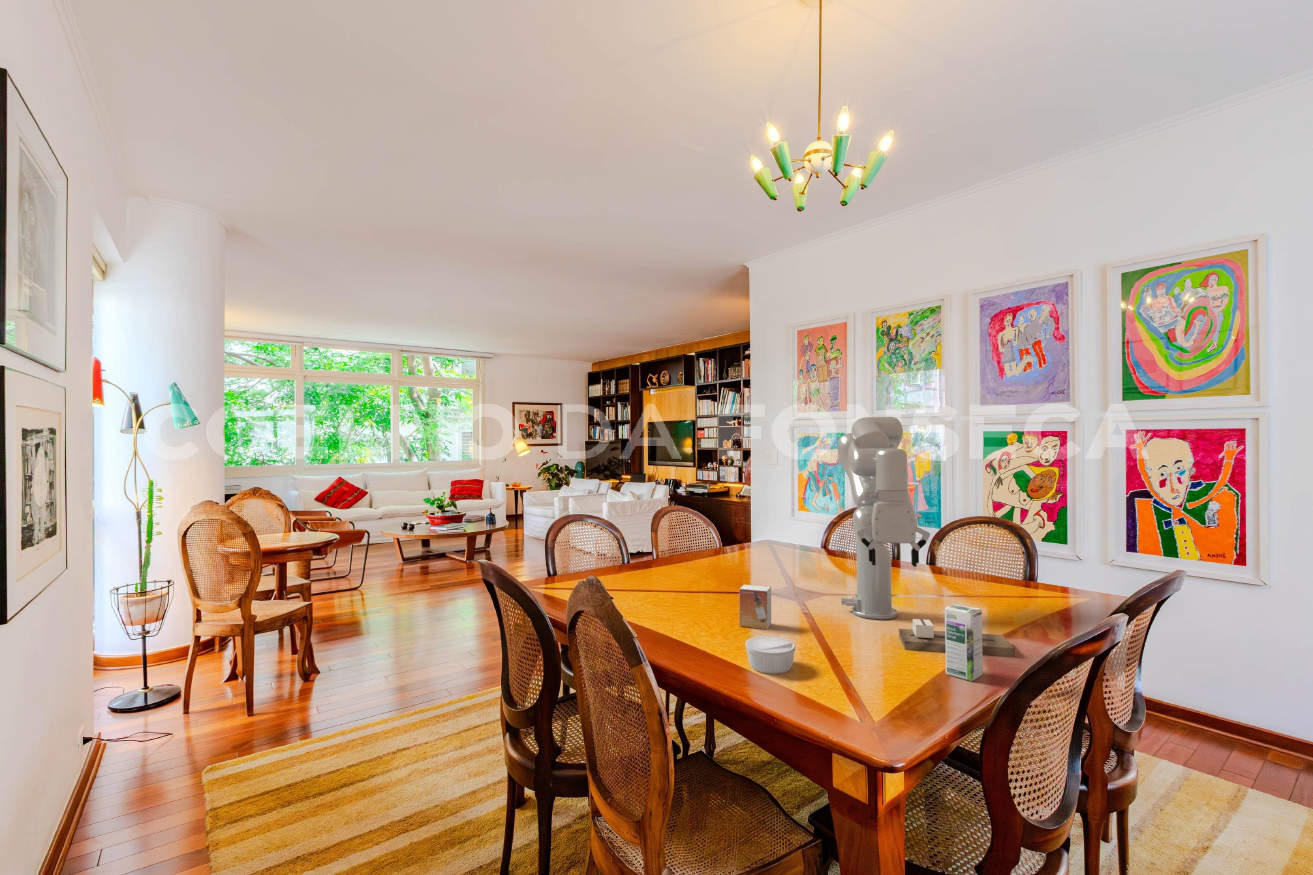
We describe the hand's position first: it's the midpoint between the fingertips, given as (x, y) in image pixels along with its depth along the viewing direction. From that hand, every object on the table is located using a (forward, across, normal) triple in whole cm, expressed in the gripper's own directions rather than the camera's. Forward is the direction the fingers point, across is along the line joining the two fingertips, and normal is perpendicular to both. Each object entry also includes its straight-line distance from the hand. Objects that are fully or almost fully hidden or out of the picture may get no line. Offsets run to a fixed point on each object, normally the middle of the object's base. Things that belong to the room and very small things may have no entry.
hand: (893, 565), depth 152 cm
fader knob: (+17, +7, 0) cm, 18 cm away
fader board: (+19, +14, 0) cm, 24 cm away
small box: (+19, -36, +7) cm, 41 cm away
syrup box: (+20, +11, -19) cm, 30 cm away
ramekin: (+20, -30, -23) cm, 42 cm away
